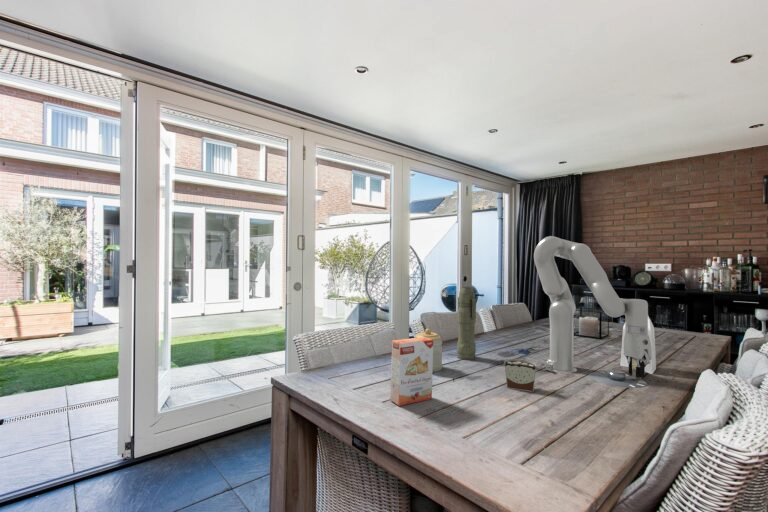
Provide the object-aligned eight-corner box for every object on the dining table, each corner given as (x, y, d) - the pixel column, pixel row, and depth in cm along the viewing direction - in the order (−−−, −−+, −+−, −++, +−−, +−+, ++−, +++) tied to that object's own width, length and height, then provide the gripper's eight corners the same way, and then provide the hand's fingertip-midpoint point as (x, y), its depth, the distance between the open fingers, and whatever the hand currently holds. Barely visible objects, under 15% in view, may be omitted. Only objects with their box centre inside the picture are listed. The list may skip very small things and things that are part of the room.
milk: (656, 368, 169) (656, 311, 169) (652, 374, 161) (652, 314, 161) (625, 363, 177) (625, 309, 178) (620, 368, 169) (620, 311, 169)
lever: (613, 379, 146) (613, 359, 146) (604, 375, 152) (605, 355, 152) (645, 380, 146) (645, 360, 146) (635, 375, 152) (635, 356, 152)
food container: (538, 387, 142) (538, 361, 142) (537, 392, 136) (537, 365, 136) (504, 382, 147) (505, 357, 147) (502, 387, 142) (503, 361, 142)
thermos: (469, 361, 177) (470, 288, 177) (451, 356, 186) (452, 286, 187) (481, 358, 182) (482, 287, 182) (463, 353, 191) (464, 286, 192)
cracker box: (399, 407, 121) (400, 343, 121) (389, 401, 126) (390, 339, 126) (433, 399, 128) (434, 339, 128) (422, 393, 133) (423, 335, 134)
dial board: (610, 391, 138) (610, 387, 138) (578, 374, 158) (578, 371, 158) (660, 390, 140) (660, 386, 140) (622, 374, 160) (622, 370, 160)
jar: (446, 367, 167) (447, 328, 167) (434, 374, 156) (435, 332, 156) (421, 362, 174) (421, 325, 174) (407, 369, 163) (408, 329, 163)
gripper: (661, 333, 141) (661, 382, 141) (630, 326, 158) (630, 369, 158) (642, 333, 141) (642, 382, 141) (613, 326, 157) (613, 369, 157)
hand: (636, 374), depth 149 cm, fingers open, 3 cm apart
